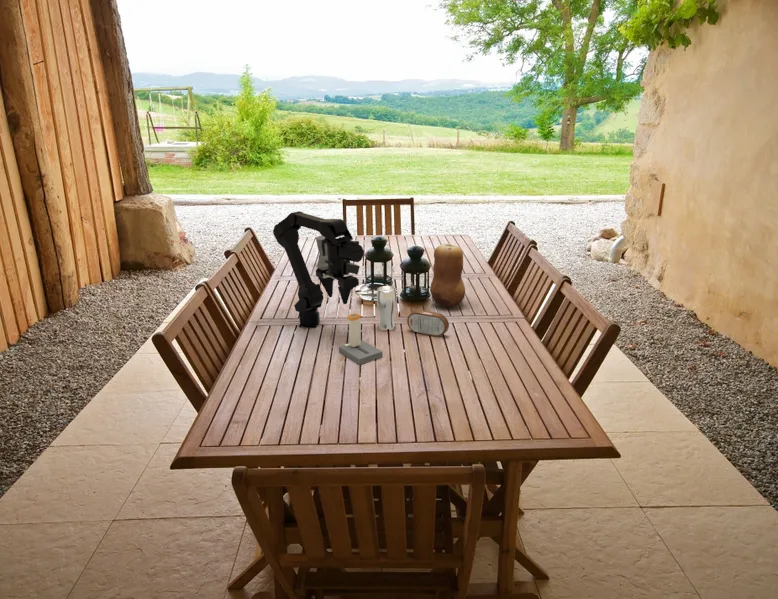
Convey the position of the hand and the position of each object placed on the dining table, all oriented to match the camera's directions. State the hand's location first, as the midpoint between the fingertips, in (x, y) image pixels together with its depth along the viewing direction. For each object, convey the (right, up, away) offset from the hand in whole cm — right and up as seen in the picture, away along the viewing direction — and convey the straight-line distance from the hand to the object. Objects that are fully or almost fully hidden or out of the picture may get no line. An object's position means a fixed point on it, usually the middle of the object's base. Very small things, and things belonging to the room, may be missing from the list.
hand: (337, 300), depth 201 cm
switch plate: (+8, -18, -11) cm, 23 cm away
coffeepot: (-13, +15, +81) cm, 83 cm away
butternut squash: (+41, -2, +31) cm, 51 cm away
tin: (+31, -12, +5) cm, 34 cm away
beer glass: (+17, -10, +10) cm, 22 cm away
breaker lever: (+7, -15, -10) cm, 19 cm away
